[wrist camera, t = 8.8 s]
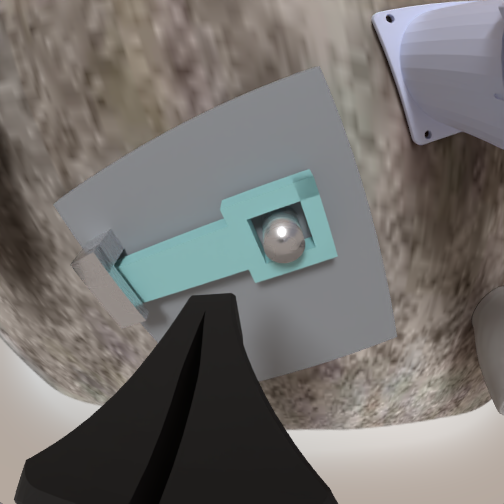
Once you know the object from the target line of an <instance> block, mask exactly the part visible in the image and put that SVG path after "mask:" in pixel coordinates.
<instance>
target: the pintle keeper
mask: <svg viewBox="0 0 504 504" xmlns="http://www.w3.org/2000/svg"><path fill="white" fill-rule="evenodd" d="M262 231H263V246H264V252H265V254H266V255H267V257H268V258H269V259H271V260H272V261H274V262H277V263H290V262H293V261H295V260H297V259H298V258H299V257H300V256H301V255H302V253H303V252H304V249H305V240H304V236H303V233H302V229H301V226H300V223H299V219H298V216H297V213H296V212H295V210H294V209H293V208H291V207H290V206H285V207H282V208H279V209H276V210H273V211H270V212H267V213H264V214H263V217H262ZM123 250H124V247H123V246H122V244H121V243H120V241H119V240H118V238H117V237H116V235H115V234H114V232H113V231H112V229H109V230H107V231H106V232H104V233H102V234H100V235H98V236H97V237H95V238H93V239H91V240H89V241H88V243H87V244H86V245H85V246H84V248H83V249H82V250H81V251H80V253H79V254H78V255H77V257H76V258H75V259H74V260H73V262H72V263H71V264H70V265H71V266H72V268H73V269H74V270H75V272H76V273H77V274H78V276H79V277H80V278H81V280H82V281H83V282H84V283H85V285H86V286H87V287H88V289H89V290H90V291H91V292H92V294H93V295H94V296H95V297H96V299H97V300H98V301H99V302H100V303H101V305H102V306H103V307H104V308H105V309H106V311H107V312H108V313H109V314H110V315H111V317H112V318H113V319H114V320H115V321H116V322H117V323H118V325H119V326H120V327H121V328H125V327H128V326H131V325H135V324H138V323H141V322H144V321H146V319H147V317H148V314H149V311H148V310H147V308H146V307H145V306H144V305H143V303H142V302H141V301H140V300H139V298H138V297H137V296H136V294H135V293H134V292H133V291H132V289H131V288H130V287H129V285H128V284H127V283H126V281H125V280H124V279H123V277H122V276H121V275H120V273H119V272H118V271H117V269H116V268H115V267H114V264H115V263H116V261H117V259H118V258H119V256H120V254H121V253H122V251H123Z"/></svg>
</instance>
